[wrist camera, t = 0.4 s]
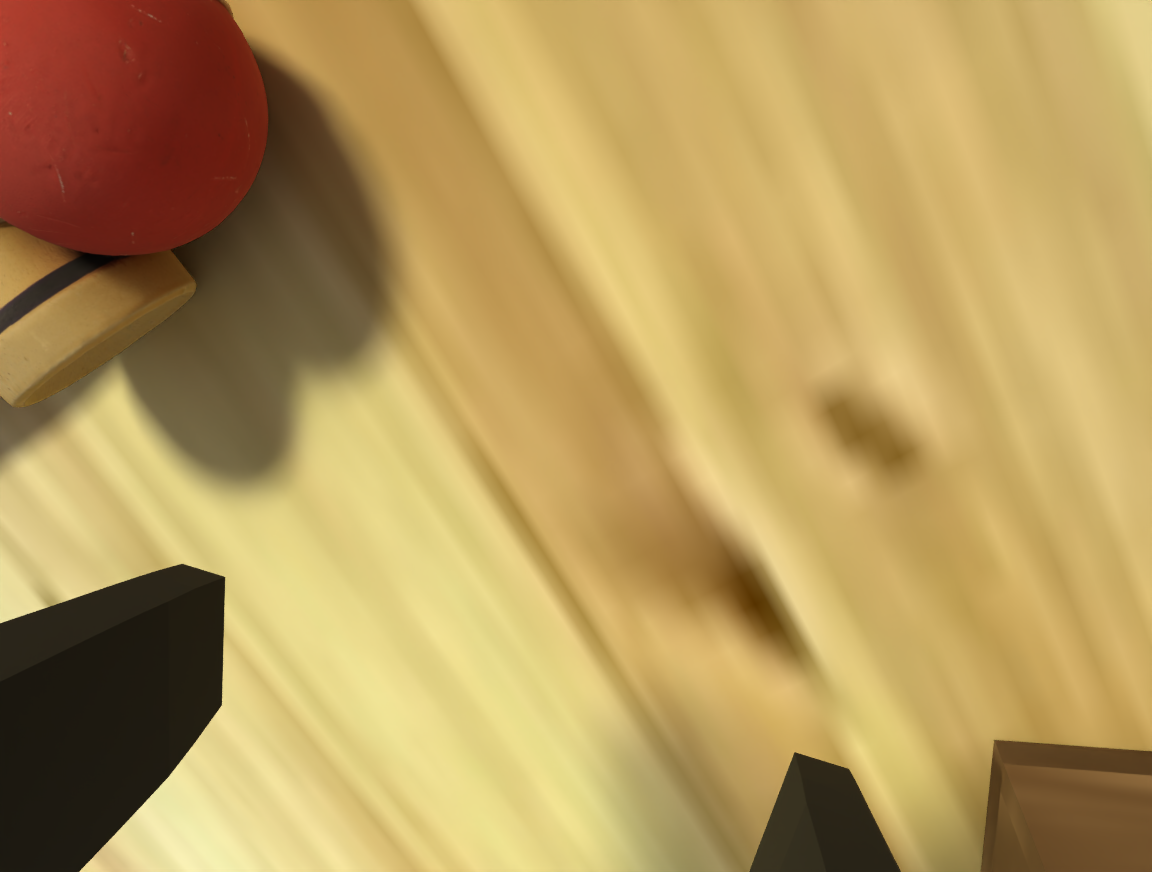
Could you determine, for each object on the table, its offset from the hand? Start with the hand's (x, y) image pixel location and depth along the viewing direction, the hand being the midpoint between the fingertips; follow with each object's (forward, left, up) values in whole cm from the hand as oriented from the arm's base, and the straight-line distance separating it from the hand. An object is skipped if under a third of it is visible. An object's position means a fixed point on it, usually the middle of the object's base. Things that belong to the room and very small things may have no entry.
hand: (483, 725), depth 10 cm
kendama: (+5, +14, -10) cm, 19 cm away
